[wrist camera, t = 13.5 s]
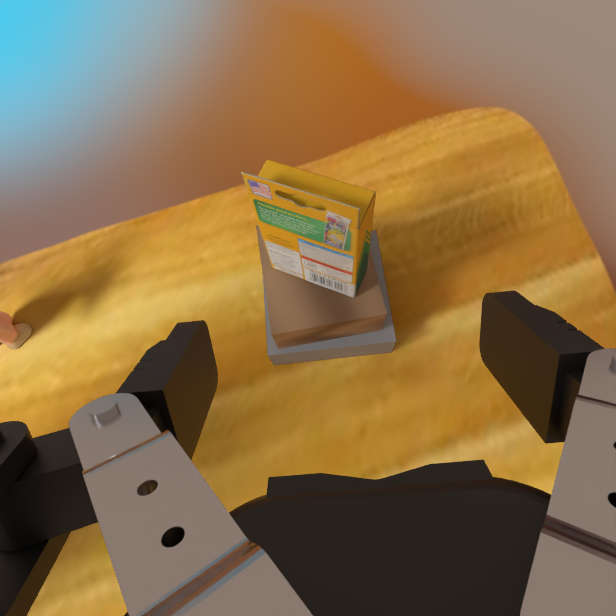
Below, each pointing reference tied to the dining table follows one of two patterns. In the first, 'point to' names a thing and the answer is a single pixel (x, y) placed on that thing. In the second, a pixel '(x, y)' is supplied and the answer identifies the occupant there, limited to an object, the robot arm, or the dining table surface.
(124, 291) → the dining table surface
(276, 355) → the tower base block
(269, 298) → the tower top block
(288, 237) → the crayon box
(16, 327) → the grandmother figurine
